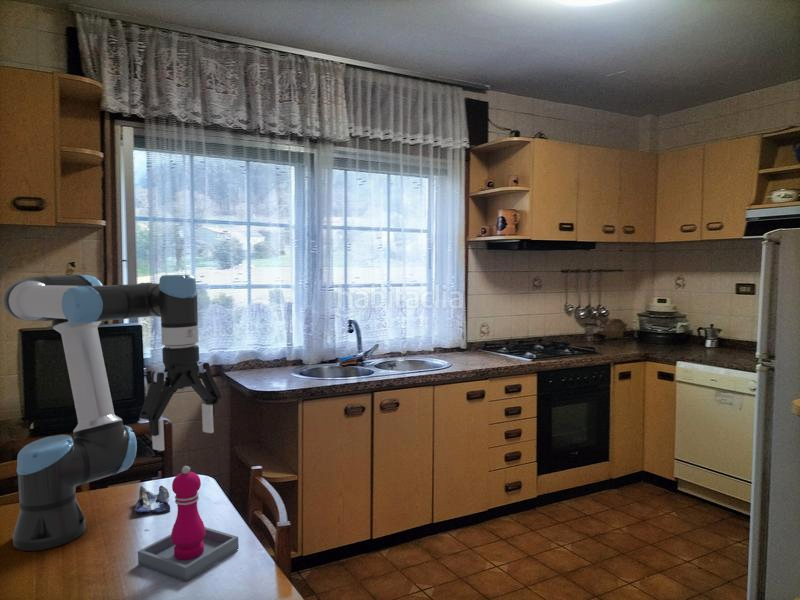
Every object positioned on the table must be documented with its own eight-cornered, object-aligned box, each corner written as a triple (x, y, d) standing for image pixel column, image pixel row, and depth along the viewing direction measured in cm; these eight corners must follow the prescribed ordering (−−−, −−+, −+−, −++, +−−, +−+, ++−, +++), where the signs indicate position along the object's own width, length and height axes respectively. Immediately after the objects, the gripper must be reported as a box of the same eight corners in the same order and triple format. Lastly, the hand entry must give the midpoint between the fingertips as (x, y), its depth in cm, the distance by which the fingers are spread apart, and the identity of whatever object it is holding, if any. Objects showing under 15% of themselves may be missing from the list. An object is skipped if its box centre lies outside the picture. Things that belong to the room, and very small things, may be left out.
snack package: (186, 500, 162) (148, 496, 164) (184, 479, 160) (146, 476, 162) (162, 526, 150) (122, 522, 152) (160, 505, 149) (119, 501, 151)
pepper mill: (195, 562, 125) (192, 472, 124) (165, 560, 127) (161, 471, 125) (212, 546, 133) (208, 461, 131) (183, 544, 134) (179, 459, 132)
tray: (138, 564, 127) (137, 551, 127) (192, 535, 140) (192, 523, 140) (186, 581, 120) (185, 567, 119) (238, 549, 133) (238, 536, 132)
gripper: (142, 355, 114) (147, 460, 115) (234, 338, 135) (237, 427, 137) (117, 352, 117) (122, 455, 119) (211, 337, 139) (215, 423, 141)
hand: (184, 440), depth 128 cm, fingers open, 13 cm apart
